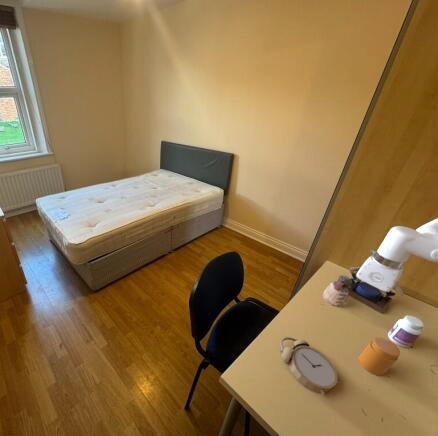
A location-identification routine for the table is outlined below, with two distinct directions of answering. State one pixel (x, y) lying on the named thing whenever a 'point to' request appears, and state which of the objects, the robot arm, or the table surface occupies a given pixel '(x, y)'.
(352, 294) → the tray
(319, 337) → the table surface
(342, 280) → the figurine
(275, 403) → the table surface
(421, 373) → the table surface
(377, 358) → the jar
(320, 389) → the alarm clock
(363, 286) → the lid
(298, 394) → the table surface
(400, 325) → the pill bottle
